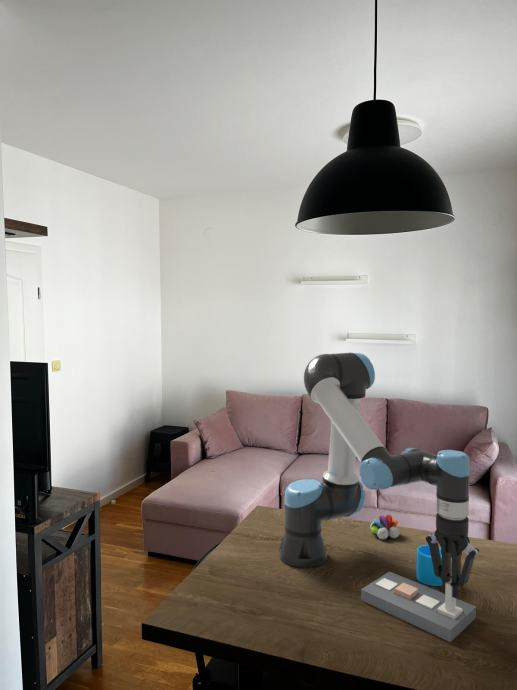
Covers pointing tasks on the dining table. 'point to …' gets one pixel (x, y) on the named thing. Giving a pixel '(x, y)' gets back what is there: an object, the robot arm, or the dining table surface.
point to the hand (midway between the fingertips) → (450, 607)
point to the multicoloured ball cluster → (385, 527)
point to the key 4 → (450, 612)
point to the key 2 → (406, 591)
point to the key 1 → (386, 584)
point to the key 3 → (427, 602)
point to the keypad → (418, 608)
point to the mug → (426, 566)
